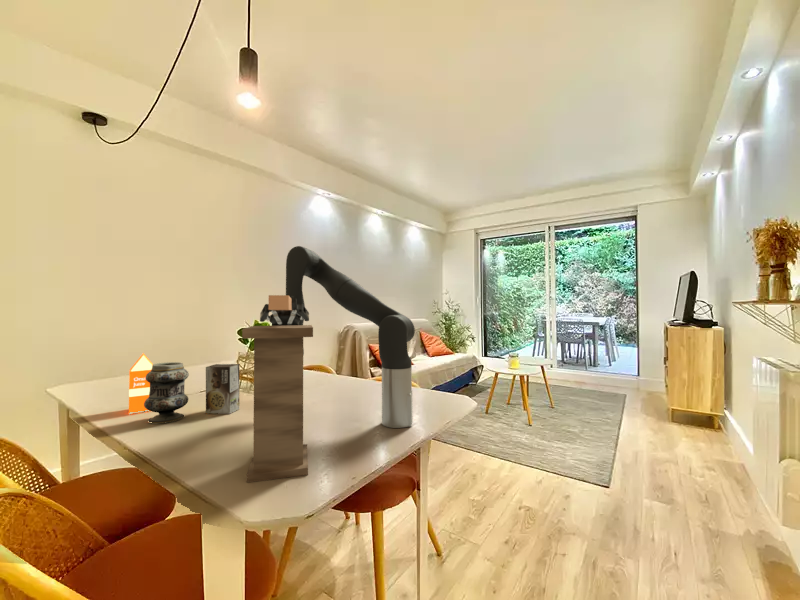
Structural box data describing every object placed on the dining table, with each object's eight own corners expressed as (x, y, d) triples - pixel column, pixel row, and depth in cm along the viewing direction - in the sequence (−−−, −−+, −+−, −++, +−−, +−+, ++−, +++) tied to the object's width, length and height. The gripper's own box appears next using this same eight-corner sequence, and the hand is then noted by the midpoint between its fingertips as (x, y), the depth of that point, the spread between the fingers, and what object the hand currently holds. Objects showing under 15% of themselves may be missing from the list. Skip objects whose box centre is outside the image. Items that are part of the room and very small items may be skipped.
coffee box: (240, 409, 127) (240, 363, 127) (229, 414, 120) (230, 366, 121) (216, 408, 128) (216, 363, 128) (204, 413, 121) (205, 366, 122)
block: (277, 310, 99) (277, 299, 99) (292, 310, 100) (292, 299, 100) (268, 309, 74) (268, 295, 74) (288, 309, 75) (288, 295, 75)
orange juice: (128, 414, 121) (129, 355, 121) (128, 409, 128) (129, 353, 128) (156, 410, 125) (156, 354, 126) (155, 405, 132) (156, 351, 133)
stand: (252, 452, 87) (253, 326, 88) (311, 446, 91) (311, 325, 92) (241, 483, 72) (242, 328, 73) (312, 474, 75) (313, 327, 76)
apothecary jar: (196, 415, 119) (197, 361, 119) (161, 426, 108) (162, 367, 108) (170, 412, 123) (171, 360, 124) (134, 422, 112) (135, 365, 112)
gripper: (310, 339, 108) (311, 311, 94) (260, 341, 104) (253, 311, 90) (310, 318, 112) (311, 287, 98) (261, 318, 108) (255, 287, 94)
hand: (283, 299), depth 94 cm, fingers closed on block, 4 cm apart
